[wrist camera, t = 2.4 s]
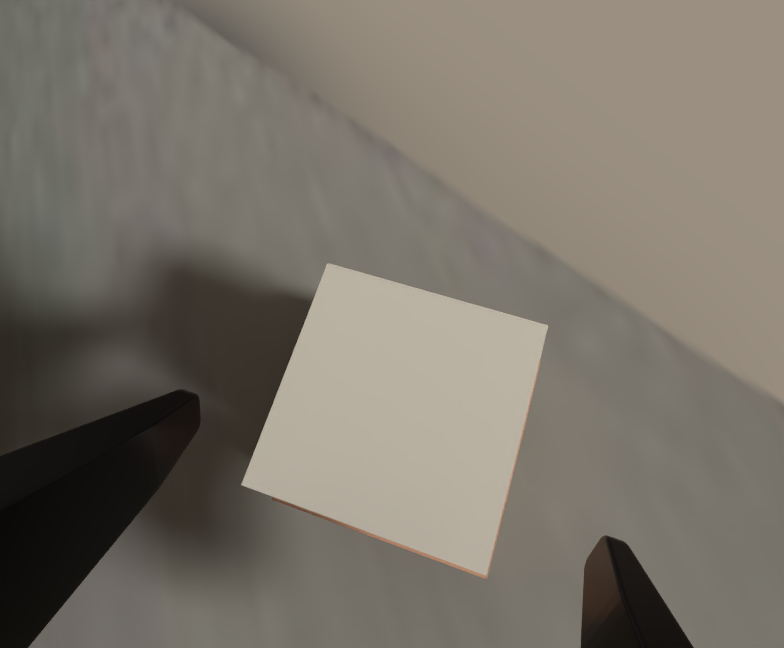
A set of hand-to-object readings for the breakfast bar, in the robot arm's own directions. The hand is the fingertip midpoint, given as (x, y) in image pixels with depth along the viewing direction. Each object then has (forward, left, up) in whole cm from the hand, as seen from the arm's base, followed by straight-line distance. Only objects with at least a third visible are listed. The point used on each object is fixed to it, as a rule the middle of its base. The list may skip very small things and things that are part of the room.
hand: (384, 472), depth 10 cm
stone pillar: (+1, -1, -5) cm, 5 cm away
